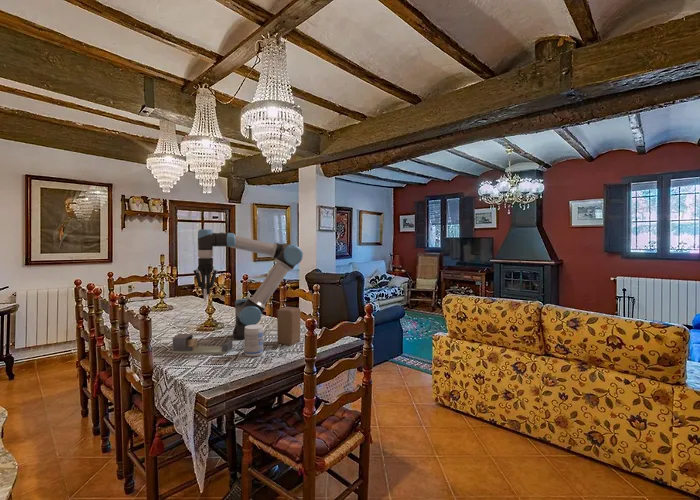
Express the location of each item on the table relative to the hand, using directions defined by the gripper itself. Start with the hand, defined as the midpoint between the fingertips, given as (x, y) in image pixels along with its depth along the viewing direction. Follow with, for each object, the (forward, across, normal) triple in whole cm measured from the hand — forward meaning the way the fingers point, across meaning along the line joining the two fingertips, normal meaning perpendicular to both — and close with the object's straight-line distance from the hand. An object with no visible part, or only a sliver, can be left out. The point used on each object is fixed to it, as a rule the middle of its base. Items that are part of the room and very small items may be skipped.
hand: (206, 300), depth 198 cm
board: (+26, 0, +6) cm, 27 cm away
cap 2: (+25, -14, +6) cm, 29 cm away
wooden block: (+27, -44, -10) cm, 52 cm away
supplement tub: (+27, -29, +10) cm, 41 cm away
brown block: (+25, +8, +6) cm, 27 cm away
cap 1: (+25, +9, +6) cm, 28 cm away
